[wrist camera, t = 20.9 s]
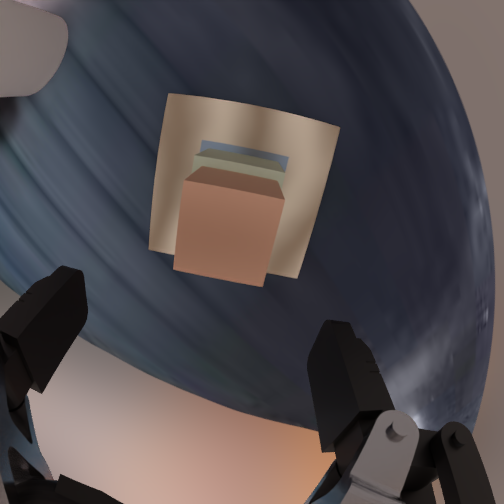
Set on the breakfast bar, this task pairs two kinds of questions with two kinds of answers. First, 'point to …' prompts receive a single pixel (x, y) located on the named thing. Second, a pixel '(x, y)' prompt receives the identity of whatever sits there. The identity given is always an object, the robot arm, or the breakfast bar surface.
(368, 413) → the robot arm
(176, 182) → the board
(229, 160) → the sage block
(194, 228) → the terracotta block
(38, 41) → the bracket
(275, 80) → the breakfast bar surface
